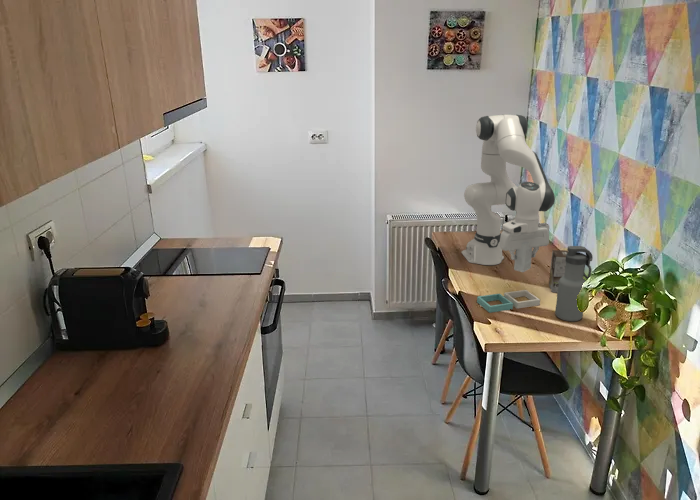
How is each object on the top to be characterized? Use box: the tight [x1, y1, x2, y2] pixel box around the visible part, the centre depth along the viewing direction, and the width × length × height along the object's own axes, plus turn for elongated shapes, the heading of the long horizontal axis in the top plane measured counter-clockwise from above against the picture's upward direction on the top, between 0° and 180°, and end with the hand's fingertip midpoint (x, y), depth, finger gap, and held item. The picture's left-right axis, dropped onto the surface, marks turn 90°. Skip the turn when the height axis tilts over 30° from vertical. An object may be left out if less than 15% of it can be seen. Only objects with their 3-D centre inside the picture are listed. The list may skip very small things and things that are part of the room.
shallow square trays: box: [476, 289, 541, 313], centre depth 218 cm, size 10×22×2 cm, turn 105°
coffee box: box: [548, 249, 568, 293], centre depth 228 cm, size 9×6×16 cm
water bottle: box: [554, 245, 593, 322], centre depth 202 cm, size 10×10×28 cm
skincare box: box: [513, 242, 533, 273], centre depth 212 cm, size 6×4×12 cm
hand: (523, 258), depth 213 cm, fingers closed on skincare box, 7 cm apart
